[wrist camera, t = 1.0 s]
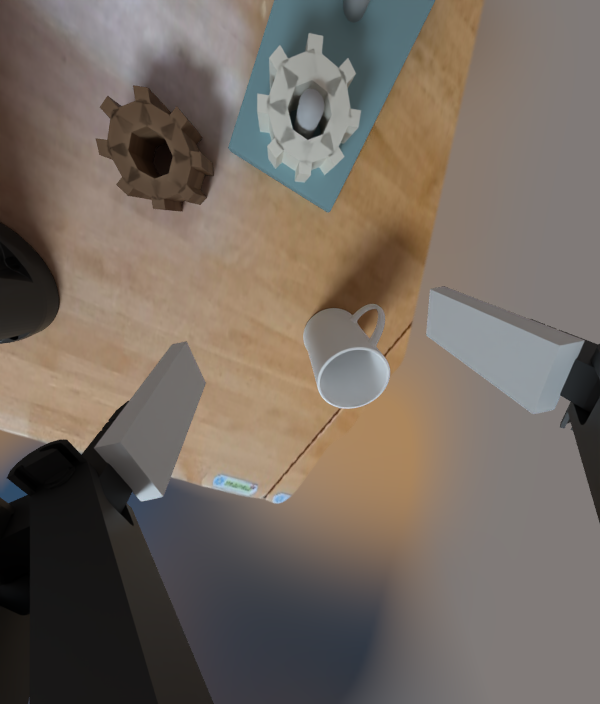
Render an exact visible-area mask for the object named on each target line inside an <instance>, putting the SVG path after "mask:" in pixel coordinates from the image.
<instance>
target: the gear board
mask: <svg viewBox="0 0 600 704" xmlns="http://www.w3.org/2000/svg"><path fill="white" fill-rule="evenodd" d="M434 2H435V0H274V4H273V7H272V10H271V13H270V16H269V20H268V23H267V26H266V29H265V32H264V36H263V39H262V42H261V45H260V48H259V51H258V55H257V58H256V61H255V64H254V67H253V71H252V74H251V77H250V80H249V83H248V86H247V90H246V93H245V96H244V99H243V102H242V106H241V109H240V112H239V115H238V118H237V122H236V125H235V128H234V131H233V134H232V137H231V141H230V144H229V147H228V148H229V150H230V151H231V152H232V153H234V154H235V155H237V156H239V157H240V158H242V159H243V160H245V161H247V162H248V163H250V164H251V165H253V166H254V167H256V168H258V169H259V170H261V171H262V172H264V173H266V174H267V175H269V176H270V177H272V178H274V179H275V180H277V181H278V182H280V183H281V184H283V185H285V186H286V187H288V188H289V189H291V190H293V191H294V192H296V193H297V194H299V195H301V196H302V197H304V198H305V199H307V200H308V201H310V202H312V203H313V204H315V205H316V206H318V207H320V208H321V209H323V210H324V211H326V212H330V211H331V209H332V207H333V205H334V203H335V201H336V199H337V197H338V195H339V193H340V191H341V189H342V187H343V185H344V183H345V181H346V179H347V177H348V175H349V173H350V171H351V169H352V167H353V165H354V163H355V161H356V159H357V157H358V155H359V153H360V151H361V149H362V147H363V144H364V142H365V140H366V138H367V136H368V134H369V132H370V130H371V128H372V126H373V124H374V122H375V120H376V118H377V116H378V114H379V112H380V110H381V108H382V106H383V104H384V102H385V100H386V98H387V96H388V94H389V92H390V90H391V88H392V86H393V84H394V82H395V80H396V78H397V76H398V74H399V72H400V70H401V68H402V66H403V64H404V62H405V60H406V58H407V56H408V54H409V52H410V50H411V48H412V46H413V44H414V42H415V40H416V38H417V36H418V34H419V32H420V30H421V28H422V26H423V24H424V22H425V20H426V18H427V16H428V14H429V12H430V10H431V8H432V6H433V4H434ZM309 33H311V34H316V35H321V36H323V45H322V54H323V55H324V56H325V57H326V58H328V59H329V60H330V61H331V62H332V63H333V64H335V65H336V66H337V67H338V68H339V67H340V66H341V65H342V64H343V63H344V62H345V61H346V59H347V58H349V60H350V62H351V64H352V67H353V69H354V71H355V73H356V74H355V76H354V78H353V80H352V82H351V83H350V85H349V87H348V95H349V102H350V108H351V109H356V110H361V114H360V121H359V127H358V129H357V130H356V131H355V132H354V133H353V134H352V135H351V136H350V137H349V139H348V140H347V141H346V142H345V143H344V144H342V143H340V145H339V148H340V150H341V151H342V153H343V155H344V158H343V159H342V160H341V161H340V162H339V163H338V164H337V165H336V166H334V167H333V168H332V169H331V170H330V171H329V172H328V173H327V174H325V175H324V174H323V172H322V171H321V169H320V168H316V169H313V170H311V176H310V177H309V178H308V179H307V180H306V182H305V183H304V182H295V171H294V170H293V169H291V168H290V167H288V166H287V165H285V164H284V163H281V164H280V165H279V166H278V167H277V168H276V169H275V168H274V166H273V165H272V163H271V162H270V161H269V159H268V149H267V146H268V145H269V144H270V142H271V141H272V140H271V137H270V133H265V132H260V127H259V121H258V114H257V93H258V94H264V95H269V94H270V91H271V90H270V73H269V57H270V56H271V55H272V54H273V52H274V51H275V50H276V49H277V48H278V46H279V45H280V46H281V47H282V49H283V51H284V53H285V54H286V56H287V58H291V57H293V56H296V55H298V54H301V53H303V52H305V50H306V45H307V39H308V34H309ZM323 111H324V101H323V97H322V95H321V94H320V93H319V92H318V91H317V90H315V89H307V90H306V91H304V92H303V94H302V95H301V97H300V100H299V105H298V109H296V110H294V111H291V113H290V120H291V124H292V128H293V130H294V131H296V132H297V133H298V134H300V135H301V136H303V137H304V138H305V139H307V140H309V139H312V138H314V137H317V136H320V135H321V129H320V124H319V121H320V119H321V117H322V114H323Z"/></svg>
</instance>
